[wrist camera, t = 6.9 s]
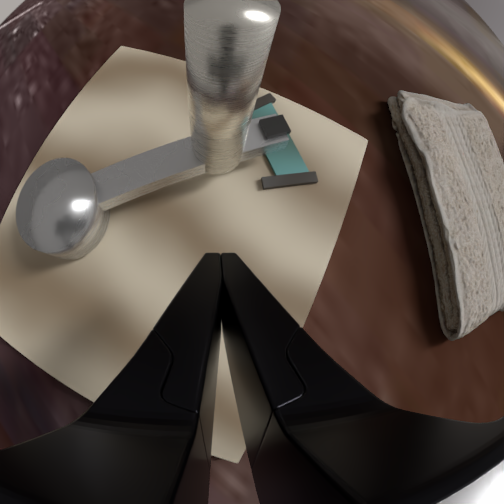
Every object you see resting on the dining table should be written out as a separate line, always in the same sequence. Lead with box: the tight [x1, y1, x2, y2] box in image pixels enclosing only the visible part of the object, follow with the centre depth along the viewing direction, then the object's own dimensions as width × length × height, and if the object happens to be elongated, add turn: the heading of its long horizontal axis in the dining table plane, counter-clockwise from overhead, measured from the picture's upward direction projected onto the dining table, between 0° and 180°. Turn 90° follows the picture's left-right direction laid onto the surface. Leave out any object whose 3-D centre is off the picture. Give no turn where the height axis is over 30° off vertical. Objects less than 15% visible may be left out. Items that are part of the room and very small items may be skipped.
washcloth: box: [388, 90, 504, 341], centre depth 18 cm, size 12×18×3 cm, turn 11°
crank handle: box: [16, 0, 291, 260], centre depth 10 cm, size 14×4×10 cm, turn 112°
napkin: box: [0, 46, 368, 463], centre depth 15 cm, size 20×18×1 cm
